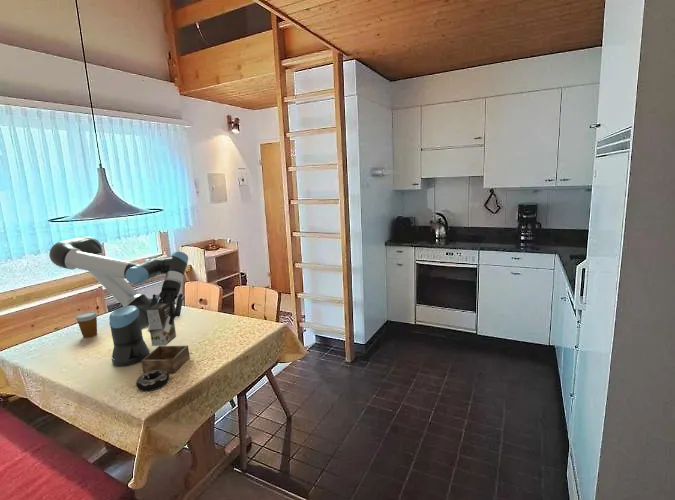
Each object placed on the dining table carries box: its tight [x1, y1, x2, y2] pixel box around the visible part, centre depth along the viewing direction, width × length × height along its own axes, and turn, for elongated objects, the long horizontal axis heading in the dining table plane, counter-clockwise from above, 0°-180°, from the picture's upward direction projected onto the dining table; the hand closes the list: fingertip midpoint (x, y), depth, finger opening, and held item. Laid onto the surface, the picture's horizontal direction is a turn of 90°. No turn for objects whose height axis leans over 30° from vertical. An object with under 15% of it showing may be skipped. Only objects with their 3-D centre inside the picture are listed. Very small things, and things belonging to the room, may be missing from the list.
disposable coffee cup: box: [75, 311, 98, 339], centre depth 195 cm, size 10×10×12 cm
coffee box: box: [147, 302, 177, 347], centre depth 156 cm, size 9×6×16 cm
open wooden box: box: [141, 345, 191, 375], centre depth 159 cm, size 14×14×6 cm
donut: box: [135, 370, 170, 392], centre depth 144 cm, size 12×12×4 cm
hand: (158, 331), depth 152 cm, fingers closed on coffee box, 6 cm apart
